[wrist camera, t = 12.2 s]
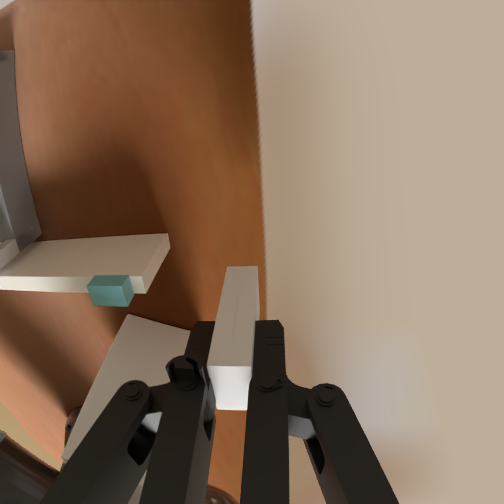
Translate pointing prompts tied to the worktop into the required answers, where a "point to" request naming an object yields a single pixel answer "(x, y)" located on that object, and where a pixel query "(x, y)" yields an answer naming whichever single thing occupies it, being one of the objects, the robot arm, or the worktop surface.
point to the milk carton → (129, 372)
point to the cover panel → (89, 267)
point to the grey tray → (13, 172)
